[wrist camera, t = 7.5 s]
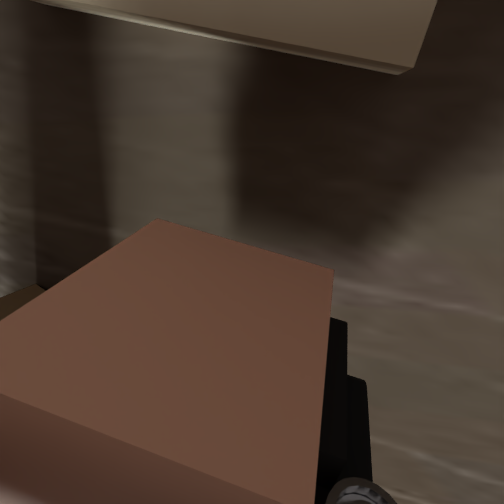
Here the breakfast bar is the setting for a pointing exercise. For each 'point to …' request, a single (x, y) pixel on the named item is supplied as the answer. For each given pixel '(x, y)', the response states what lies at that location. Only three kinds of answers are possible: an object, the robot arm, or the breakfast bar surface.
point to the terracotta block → (167, 377)
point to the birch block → (289, 25)
